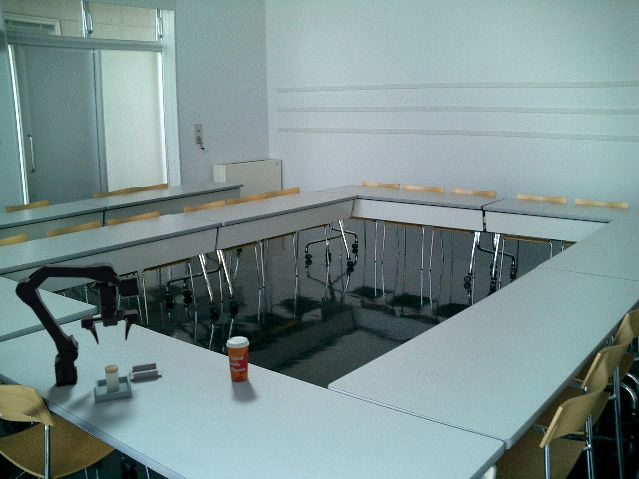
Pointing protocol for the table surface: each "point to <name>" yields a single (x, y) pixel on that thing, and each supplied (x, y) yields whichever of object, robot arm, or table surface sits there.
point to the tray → (106, 396)
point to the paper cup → (238, 358)
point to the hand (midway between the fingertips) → (112, 342)
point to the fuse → (112, 378)
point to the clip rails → (145, 371)
